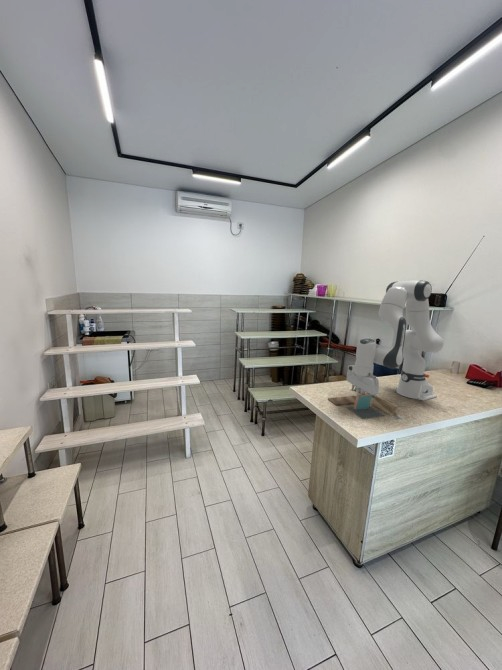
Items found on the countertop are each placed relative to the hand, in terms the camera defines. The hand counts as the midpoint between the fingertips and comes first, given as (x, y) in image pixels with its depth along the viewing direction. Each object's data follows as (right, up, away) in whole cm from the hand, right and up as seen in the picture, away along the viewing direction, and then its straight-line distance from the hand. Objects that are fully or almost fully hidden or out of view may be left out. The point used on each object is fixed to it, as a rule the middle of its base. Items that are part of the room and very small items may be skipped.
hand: (360, 396), depth 133 cm
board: (-3, -5, +9) cm, 11 cm away
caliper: (+12, -5, +19) cm, 23 cm away
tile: (0, -6, 0) cm, 6 cm away
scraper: (+13, -8, -2) cm, 16 cm away
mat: (+1, -7, -3) cm, 8 cm away
